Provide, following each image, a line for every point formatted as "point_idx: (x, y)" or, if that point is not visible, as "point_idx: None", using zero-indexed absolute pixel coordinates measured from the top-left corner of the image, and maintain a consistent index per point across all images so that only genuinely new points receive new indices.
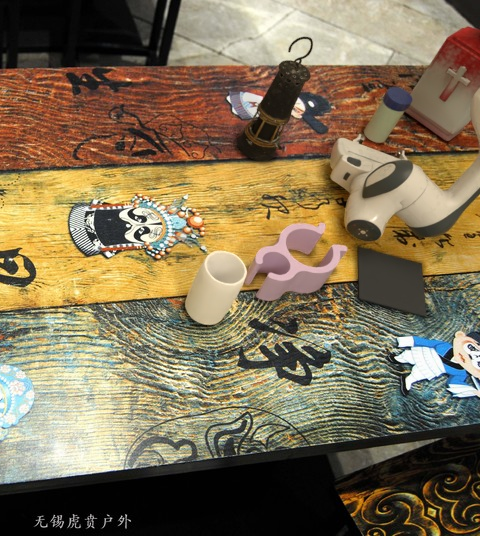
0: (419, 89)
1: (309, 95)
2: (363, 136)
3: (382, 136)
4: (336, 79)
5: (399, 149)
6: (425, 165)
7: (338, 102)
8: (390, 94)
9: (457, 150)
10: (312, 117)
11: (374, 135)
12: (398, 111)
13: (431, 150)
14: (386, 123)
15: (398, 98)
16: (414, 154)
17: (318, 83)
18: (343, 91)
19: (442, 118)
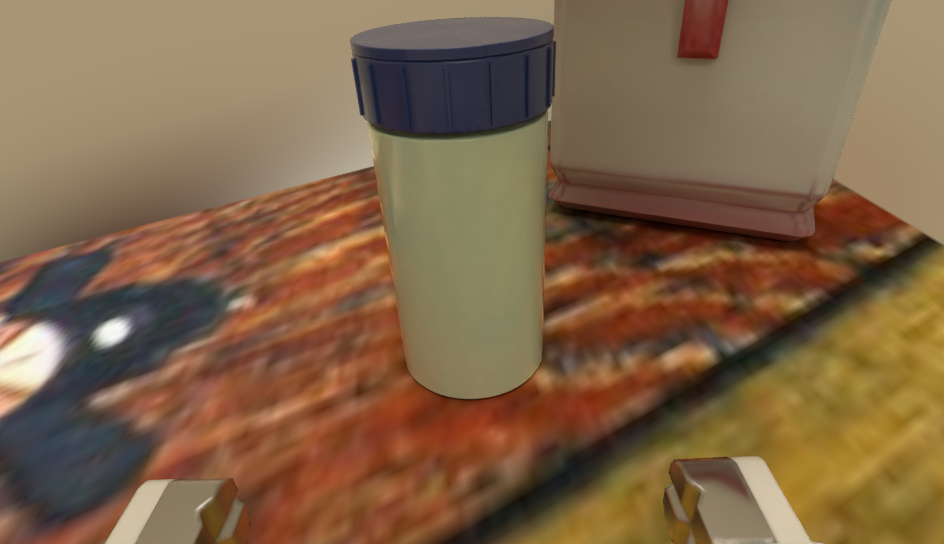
0: (573, 80)
1: (129, 294)
2: (191, 501)
3: (504, 350)
4: (289, 203)
5: (695, 472)
6: (854, 416)
7: (278, 272)
8: (376, 40)
9: (877, 258)
10: (75, 406)
11: (454, 364)
12: (496, 133)
13: (788, 306)
14: (472, 260)
15: (443, 37)
16: (736, 370)
17: (203, 236)
18: (311, 227)
19: (739, 147)
